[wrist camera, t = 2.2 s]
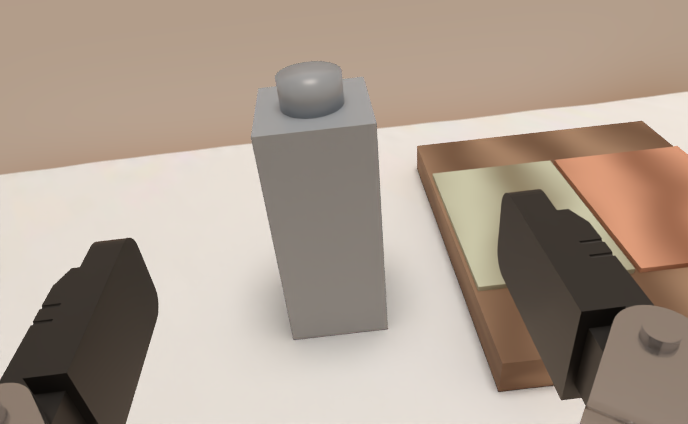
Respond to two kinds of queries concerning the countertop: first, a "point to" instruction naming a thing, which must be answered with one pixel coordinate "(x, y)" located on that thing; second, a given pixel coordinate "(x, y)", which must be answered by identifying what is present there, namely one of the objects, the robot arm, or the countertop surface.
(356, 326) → the slate brick
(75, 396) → the robot arm
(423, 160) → the walnut board
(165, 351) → the countertop surface
